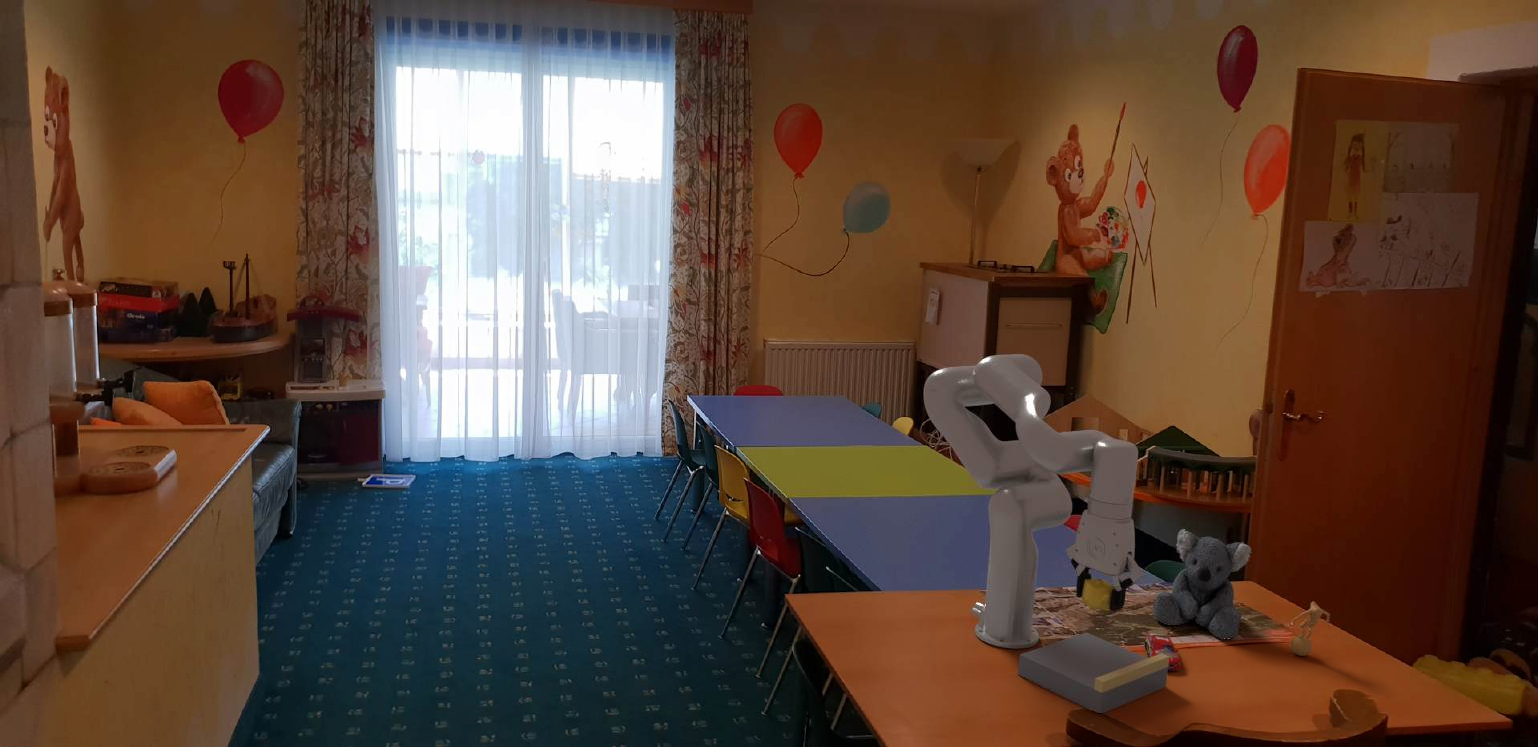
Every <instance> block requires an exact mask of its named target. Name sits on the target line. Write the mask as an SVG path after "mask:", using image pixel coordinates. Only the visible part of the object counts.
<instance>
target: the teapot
mask: <svg viewBox="0 0 1538 747" xmlns="http://www.w3.org/2000/svg"><path fill="white" fill-rule="evenodd" d="M1113 589H1115V586H1114V584H1110V583H1109V582H1108V581H1107V580H1105V579H1101V578H1099V579H1096V578H1092V577H1091V578H1090V579H1085V581H1084V586H1083V591H1082V597H1081V599H1082V601H1083V602H1084V605H1086V606H1088V608H1089V610H1090V611H1096V610H1097V609H1101V610H1102V609H1103V610H1102V611H1105V612H1109V611H1110V601H1111V592H1112V590H1113Z"/></svg>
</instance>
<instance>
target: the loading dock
mask: <svg viewBox="0 0 1538 747" xmlns="http://www.w3.org/2000/svg"><path fill="white" fill-rule="evenodd" d="M1168 664H1169V656H1167V655H1164V654H1162V653H1161V654H1159V655H1156V656H1153V657H1151V658H1149V657H1146V656H1143V655H1141V654H1138V653H1136V652H1135V651H1132V650H1129V649H1127V648H1125V647H1122V646H1120V645H1117V644H1115V643H1112V642H1110V641H1108V640H1105V639H1103V638H1101V637H1098V636H1096V635H1094V634H1091V633H1089V632H1087V631H1086V632H1084V633H1081V634H1077V635H1075V636H1071V637H1069V638H1066V639H1061V640H1059V641H1056V642H1054V643H1051V644H1048V645H1045V646H1042V647H1039V648H1036V649H1032V650H1030V651H1027V652H1024V653H1021V654H1019V660H1018V669H1017V670H1018V671H1017V676H1019V675H1020V677H1021V676H1022V678H1023V677H1025V678H1026V679H1025V678H1024V679H1025V680H1027V679H1028V680H1027V681H1029V682H1032V681H1033V682H1032V683H1034V682H1035V683H1034V684H1036V685H1038V686H1040V685H1041V687H1042V686H1043V687H1042V688H1044V689H1046V688H1047V689H1046V690H1048V689H1049V691H1050V692H1052V693H1055V694H1056V693H1057V694H1056V695H1058V694H1059V695H1058V696H1060V695H1061V696H1060V697H1061V698H1065V699H1067V700H1069V701H1071V702H1073V703H1074V704H1077V705H1079V706H1081V707H1083V708H1085V709H1087V710H1089V709H1092V710H1095V711H1098V712H1100V713H1102V714H1104V713H1106V712H1109V711H1112V710H1114V709H1116V708H1119V707H1121V706H1123V705H1125V704H1128V703H1130V702H1133V701H1136V700H1138V699H1141V698H1143V697H1145V696H1147V695H1151V694H1153V693H1155V692H1158V691H1160V690H1162V689H1164V688H1166V686H1167V678H1168V672H1169V671H1168Z"/></svg>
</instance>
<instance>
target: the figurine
mask: <svg viewBox="0 0 1538 747" xmlns="http://www.w3.org/2000/svg"><path fill="white" fill-rule="evenodd" d="M1307 615H1308V619H1307V618H1306V619H1304V621H1303V622H1301V623H1300V624H1299V626H1300V629H1301V633H1302V634H1300V635H1296V636H1294V637H1293V638H1291V640H1290V644H1289V645H1290V649H1291V651H1292V653H1293V654H1295V655H1297V656H1300V657H1304V656H1308V655H1309V654H1310V653H1312V651H1313V644H1312V641H1311V640H1310V637H1311V636H1312V634H1313V632H1314V630H1313V629H1312V628H1314V627H1316V625H1318V623H1319V619H1320V617H1322V616H1323V615H1325V616H1326V619H1325V620H1324V622H1325V623H1324V624H1326V625H1328V624H1329V623H1330V617H1331V614H1330V613H1329V612H1328V611H1325V610H1324V609H1322V608H1321V607H1320V606H1319V605H1318V604H1317V603H1316V602H1315V601H1312V602H1310V608H1309V609H1308V610H1305V611H1304V612H1302V613H1300V614H1299V615H1298V616H1296V617H1294V618H1293V619H1292V620H1291V622H1290V623H1289V625H1292V624H1293V622H1296V621H1297V620H1299V619H1300V618H1302V617H1303V616H1307ZM1305 627H1308V632H1309V633H1308V634H1307V635H1306V629H1305Z"/></svg>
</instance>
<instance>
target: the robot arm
mask: <svg viewBox="0 0 1538 747" xmlns="http://www.w3.org/2000/svg"><path fill="white" fill-rule="evenodd" d="M1042 382H1043V371H1042V368H1041V366H1040V364H1039V363H1038V362H1037V361H1036V359H1035V358H1033V357H1032V356H1030V355H1027V354H1022V353H1015V354H1014V353H1013V354H997V355H996V354H994V355H990V356H986V357H985V358H983V359H981V360H980V361H979V362H978V363H977V364H976V365H964V366H962V365H961V366H950V367H944V368H940V369H938V370H935V371H933V372H932V373H931V374H930V375H929V376H928V377H927V379H926V381H925V383H924V387H923V403H924V407H925V410H926V413H927V415H928V417H929V419H930V421H931V423H932V424H933V425H934V427H935V428H936V429H937V431H939V433H940V434H941V435H942V436H943V438H945V440H946V442H948V443H949V445H950V447H951V448H952V449H953V451H954V453H955V455H956V456H957V458H958V459H959V460H960V462H961V463H962V466H964V468H965V469H966V471H967V473H968V474H969V475H970V477H971V479H972V480H973V482H975V484H976V485H977V486H978V487H980V488H981V489H984V490H992V491H993V490H995V492H994V493H993V494H992V495H991V496H990V498H989V502H988V520H989V528H990V529H989V530H990V538H989V539H990V541H989V542H990V543H989V556H988V557H989V558H988V568H987V569H988V570H987V581H986V591H985V601H984V602H985V604H983V603H981V602H978V601H977V602H976V603H975V604H974V607H973V608H971V611H970V612H971V614H972V616H973V615H974V616H975V617H978V618H979V621H978V622H977V624H975V626H974V627H975V628H974V634H975V635H976V637H977V638H978V639H979V640H981V641H983V642H985V643H987V644H989V645H992V646H996V647H999V648H1004V649H1013V650H1015V649H1028V648H1031V647H1033V646H1035V645H1037V644H1038V643H1039V638H1040V635H1039V633H1038V631H1037V630H1036V629H1035V628H1034V627H1033V620H1034V618H1033V616H1034V610H1035V608H1034V606H1035V598H1036V587H1037V578H1038V568H1039V567H1038V566H1039V550H1038V547H1037V544H1036V541H1035V539H1034V536H1033V535H1034V534H1033V533H1034V531H1039V530H1045V529H1049V528H1056V527H1059V526H1061V525H1063V524H1065V523H1066V522H1067V521H1068V520H1070V517H1071V514H1072V511H1073V501H1072V498H1071V494H1070V492H1069V490H1068V489H1067V487H1066V486H1065V484H1064V483H1063V482H1062V480H1061V479H1060V477H1059V476H1058V475H1067V474H1075V473H1080V472H1091V476H1090V483H1089V484H1090V485H1089V494H1085V495H1084V497H1083V501H1084V502H1085V503H1086V504H1087V509H1084V510H1083V512H1082V515H1081V517H1080V520H1079V524H1078V527H1077V531H1076V535H1075V542H1074V543H1073V544H1072V545H1070V546H1069V547H1067V548H1066V550H1065V552H1066V554H1067V556H1068V558H1069V560H1070V564H1071V565H1072V566H1073V569H1074V573H1075V576H1077V577H1076V578H1077V579H1076V588H1075V589H1076V593H1075V594H1076V595H1075V596H1076V597H1077V598H1079V599H1080V598H1082V591H1083V586H1084V581H1085V579H1090V578H1092V574H1091V573H1090V572H1091V570H1094V571H1096V572H1099V573H1101V574H1105V575H1107V576H1111V577H1112V582H1113V585H1114V586H1115V589H1113V590H1112V592H1111V601H1110V609H1109V611H1111V612H1116V611H1119V610H1123V608H1124V606H1125V603H1126V602H1125V601H1126V593H1127V589H1129V588H1130V587H1131V586H1133V585H1135V584H1136V583H1137V582H1138V581H1140V580H1141V579H1143V578H1144V575H1145V574H1144V573H1143V571H1142V569H1141V567H1140V566H1139V565H1138V564H1137V562H1136V560H1135V552H1136V551H1135V548H1136V544H1135V543H1136V541H1135V539H1136V538H1135V535H1136V534H1135V533H1136V532H1135V522H1134V519H1132V512H1133V511H1132V510H1133V504H1134V503H1133V502H1134V495H1135V494H1134V493H1135V484H1136V476H1137V468H1138V460H1139V459H1138V458H1139V449H1138V447H1137V446H1136V445H1135V444H1134V443H1132V442H1130V441H1128V440H1123V439H1117V438H1114V437H1112V436H1110V435H1109V434H1106V433H1105V432H1102V431H1100V430H1096V429H1086V430H1073V431H1064V432H1063V431H1062V432H1058V431H1056V430H1055V429H1054V428H1053V427H1052V426H1050V425H1049V424H1048V423H1046V422H1045V421H1044V420H1043V419H1044V417H1046V415H1047V413H1048V412H1049V410H1050V408H1051V407H1050V406H1051V395H1050V393H1049V392H1048V391H1047V390H1046V389H1045V388H1044V387H1042V386H1041V385H1042ZM992 404H994V405H995V406H996V407H998V408H999V409H1000V410H1001V411H1002V412H1004V414H1006V415H1007V416H1008V417H1009V418H1010V419H1011V420H1012V421H1013V422H1014V423H1015V432H1016V435H1017V438H1018V439H1017V440H1008V441H1004V440H1003V441H1002V440H1000V439H998V438H997V437H996V436H995V435H994V434H993V433H992V431H991V430H990V428H989V427H988V425H987V424H986V423H985V422H984V420H982V419H981V418H980V417H979V416H977V415H976V414H975V413H973V412H971V411H970V410H968V409H967V408H966V407H974V406H984V405H985V406H986V405H992ZM1128 573H1130V576H1129V577H1128Z"/></svg>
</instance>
